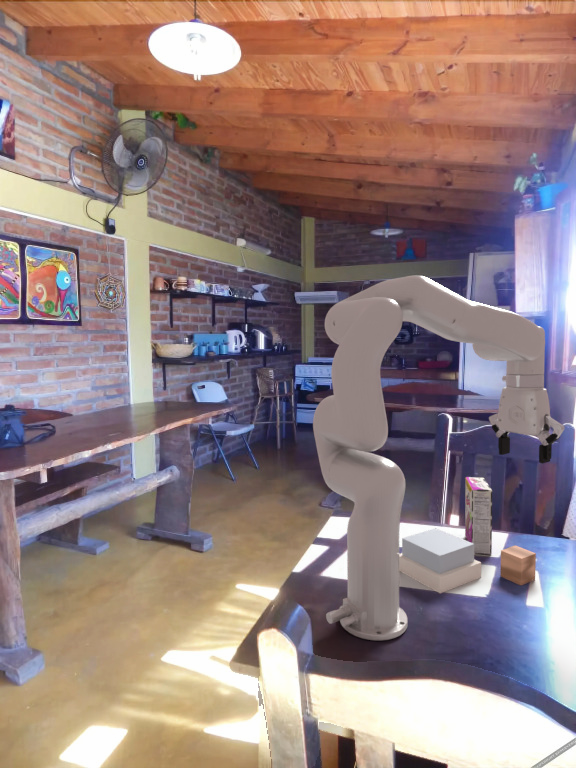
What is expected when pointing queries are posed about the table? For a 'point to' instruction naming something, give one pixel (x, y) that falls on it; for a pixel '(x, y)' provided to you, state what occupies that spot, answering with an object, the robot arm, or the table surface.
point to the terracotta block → (518, 565)
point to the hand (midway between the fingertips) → (523, 457)
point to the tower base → (440, 580)
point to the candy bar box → (478, 514)
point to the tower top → (438, 550)
